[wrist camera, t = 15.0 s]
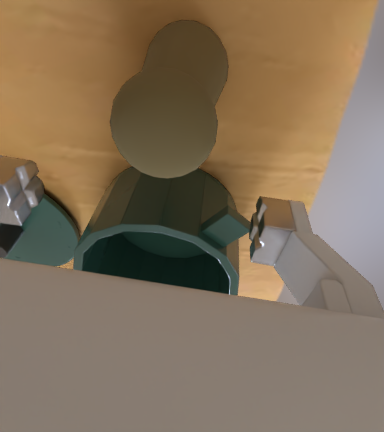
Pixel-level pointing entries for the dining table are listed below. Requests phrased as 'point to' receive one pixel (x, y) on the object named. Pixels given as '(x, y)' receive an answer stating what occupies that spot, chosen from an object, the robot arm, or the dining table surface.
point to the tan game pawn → (172, 102)
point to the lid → (41, 236)
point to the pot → (165, 232)
